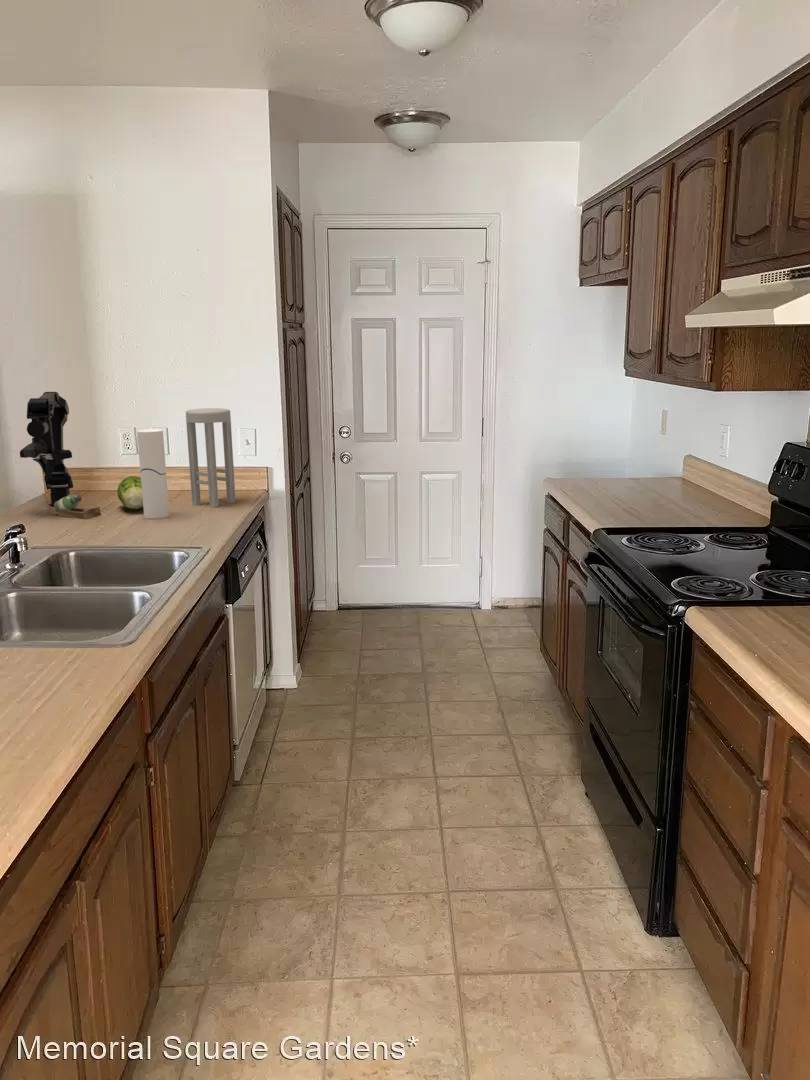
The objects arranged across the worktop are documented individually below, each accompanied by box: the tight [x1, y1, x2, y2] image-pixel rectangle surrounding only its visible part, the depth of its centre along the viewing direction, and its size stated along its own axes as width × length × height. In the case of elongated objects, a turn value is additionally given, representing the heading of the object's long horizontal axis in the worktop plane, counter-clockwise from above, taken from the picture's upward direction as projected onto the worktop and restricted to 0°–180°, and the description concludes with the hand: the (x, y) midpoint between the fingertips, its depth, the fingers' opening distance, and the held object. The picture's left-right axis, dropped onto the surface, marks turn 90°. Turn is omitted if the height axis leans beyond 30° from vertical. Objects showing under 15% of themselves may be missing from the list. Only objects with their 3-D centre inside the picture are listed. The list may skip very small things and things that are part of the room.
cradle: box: [57, 506, 102, 520], centre depth 295 cm, size 7×12×3 cm, turn 68°
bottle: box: [53, 493, 82, 514], centre depth 296 cm, size 5×5×10 cm
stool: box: [185, 407, 236, 508], centre depth 311 cm, size 16×16×35 cm
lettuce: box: [116, 475, 143, 510], centre depth 305 cm, size 12×21×11 cm, turn 20°
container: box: [136, 428, 170, 520], centre depth 291 cm, size 9×9×30 cm
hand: (48, 477), depth 298 cm, fingers closed
